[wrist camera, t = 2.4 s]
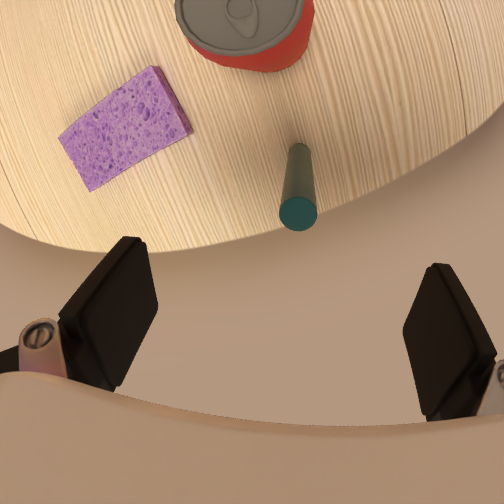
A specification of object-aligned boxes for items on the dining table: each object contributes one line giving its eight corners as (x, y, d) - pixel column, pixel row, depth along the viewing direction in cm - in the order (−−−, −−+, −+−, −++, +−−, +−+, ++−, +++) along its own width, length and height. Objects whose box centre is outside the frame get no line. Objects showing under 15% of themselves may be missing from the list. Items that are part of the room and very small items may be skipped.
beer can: (237, 82, 22) (185, 87, 12) (214, 12, 19) (148, -29, 9) (318, 63, 20) (336, 48, 10) (295, -9, 17) (289, -74, 7)
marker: (311, 144, 24) (319, 198, 14) (309, 165, 25) (315, 233, 15) (289, 142, 24) (280, 195, 14) (288, 163, 25) (277, 229, 15)
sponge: (195, 131, 25) (188, 136, 23) (97, 188, 29) (87, 195, 27) (160, 63, 22) (150, 63, 20) (67, 133, 26) (55, 137, 24)
